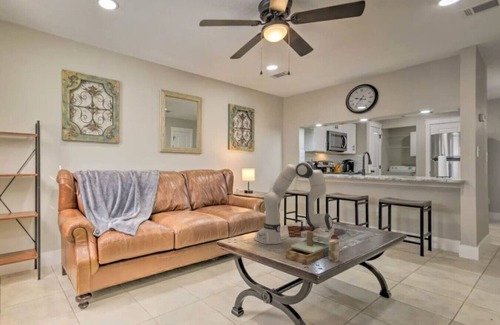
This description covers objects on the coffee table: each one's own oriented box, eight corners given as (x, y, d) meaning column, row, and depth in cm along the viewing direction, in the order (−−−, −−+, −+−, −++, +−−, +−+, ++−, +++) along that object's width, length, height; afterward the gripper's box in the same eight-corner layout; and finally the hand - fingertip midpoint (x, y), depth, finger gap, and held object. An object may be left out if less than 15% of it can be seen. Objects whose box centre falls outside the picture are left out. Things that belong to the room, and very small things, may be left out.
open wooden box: (286, 257, 173) (286, 250, 173) (302, 250, 187) (302, 243, 187) (307, 264, 162) (308, 256, 162) (323, 256, 176) (323, 248, 176)
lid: (290, 247, 177) (290, 232, 177) (306, 241, 193) (307, 227, 193) (313, 253, 166) (313, 237, 166) (329, 246, 181) (329, 231, 181)
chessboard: (329, 227, 257) (329, 216, 257) (339, 239, 217) (339, 226, 217) (287, 226, 261) (287, 215, 261) (289, 238, 221) (289, 225, 221)
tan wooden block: (328, 260, 170) (328, 241, 170) (331, 258, 173) (332, 239, 173) (335, 262, 166) (335, 242, 166) (338, 260, 170) (338, 241, 170)
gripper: (306, 227, 196) (296, 230, 185) (333, 232, 182) (323, 236, 172) (306, 236, 196) (296, 240, 185) (333, 242, 182) (323, 246, 172)
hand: (309, 238), depth 178 cm, fingers closed on lid, 3 cm apart
